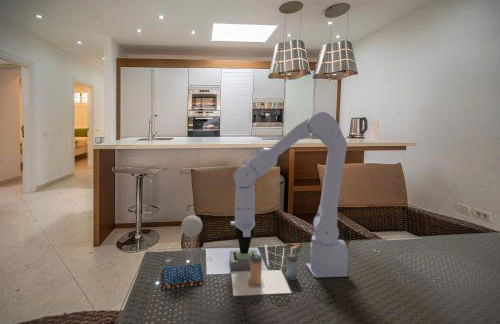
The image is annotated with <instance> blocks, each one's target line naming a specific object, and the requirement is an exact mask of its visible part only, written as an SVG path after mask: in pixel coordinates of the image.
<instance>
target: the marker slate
mask: <svg viewBox="0 0 500 324" xmlns="http://www.w3.org/2000/svg"><path fill="white" fill-rule="evenodd" d="M285 273H286V274H285V279H287V280H289V281H295V280H297V278H298V277H297V276H298V255H297V254H295V253H288V254H286V272H285Z"/></svg>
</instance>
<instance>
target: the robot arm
mask: <svg viewBox="0 0 500 324" xmlns="http://www.w3.org/2000/svg"><path fill="white" fill-rule="evenodd" d="M311 135H312V136H314V137H316V138H317V139H319V140H320V141H321V142H322V143H323V145H324V146H325V147H326V149H327V155H326V162H325V168H324V175H323V183H322V188H321V195H320V203H319V205H318V210H317V213H316V215H315V216H314V218H313V221H312V225H313V229H314V234H313V235H312V236H311V248H310V262H308V263H306V264H305V266H306V267H307V269H308V270H309V272H310V273H311V275H312V276H313V277H314V278H317V279H318V278H336V277H337V278H339V277H340V278H343V277H348V276H349V275H348V273H347V272H348V258H349V257H348V254H349V253H348V252H349V251H348V246H347V243H346V242H345V241H344V240H343V239H339V236H340V230H339V226H338V207H339V199H340V196H341V195H340V194H341V193H340V192H341V189H342V187H341V186H342V182H343V174H344V169H345V161H346V156H347V155H346V154H347V150H348V149H347V148H348V143H347V141H346V138H345V135H343V132H342V130H341V128H340V125H339V122H338V121H337V120H336V119H335V118H334V117H333V116H332V115H331V114H330V113H328V112H325V111H319V112H316V113H314V114H313V115H312V116H311V118H307V119H305V120H303V121H302V122H301V123H299V124H297V125H296V126H295V127H294V128H292V129H291V130H290V131H288V133H286V134H285V135H284V136H283V137H282V138H281V139H279V140H278V141H277V142H276V143H275V144H274V145H273V146H272V147H263V148H262V149H261V148H258V149H257V150H256V151H255V153H256V154H254V155H253V156H252V157H251V158H249V159H248V160H245V161H244V162H243V164H244V165H242V166H239V167H238V168H236V170H235V171H234V173H233V180H234V183H235V191H234V221H233V220H232V221H230V226H235V227H234V233H235V235H236V238H237V241H238V247H239V248H238V249H239V250H240V253H241V254H245V253H248V251H249V250H250V245H251V242H252V239H253V237H254V236H255V231H256V230H255V228H254V227H255V226H256V220H255V219H256V218H255V215H256V214H255V208H256V207H255V206H256V205H255V204H256V190H255V182H256V181H257V178H260V177H262V176H263V175H264V174H265V173H267V172H268V171H270V170H271V169H272V168H273V167H274V166H276V165H277V164H278V159H279V158H278V157H279V156H280V155H282V154H283V153H284V152H286V150H288V149H289V148H291V147H292V146H294V144H295V143H297V142H299V140H303V139H308V138H311V137H312V136H311Z"/></svg>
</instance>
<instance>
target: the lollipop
mask: <svg viewBox="0 0 500 324" xmlns="http://www.w3.org/2000/svg"><path fill="white" fill-rule="evenodd" d="M203 226H204V225H203V221H202V220H201V218H200V217H198V216H196V215H193V214H191V215H187V216H185V217H184V218H183V220H182V222H181V224H180V227H181V228H180V229H181V232H182V233H183V234H184V235H185V236H186V237H190V265H192V264H194V260H193V258H194V256H193V254H194V251H193V250H194V246H193V245H194V244H193V242H194V237H196V236H198V235H199V234H200V233H201V232H202V230H203Z"/></svg>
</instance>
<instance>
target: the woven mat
mask: <svg viewBox="0 0 500 324" xmlns="http://www.w3.org/2000/svg"><path fill="white" fill-rule="evenodd" d="M203 275H204V274H203V271H202V266H201V263H193V264H192V265H191V264H189V263H187V264H185V265H184V264H182V265H178V264H177V265H175V266H173V265H171V266H167V265H166V266H165V267H163V269H162V271H161V281H162V282H161V285H160V286H161V288H162V290H166V289H168V290H169V289H175V288H177V289H178V288H180V286H181V288H184V287H189V286H190V287H193V286H195V287H197V286H198V285H197V284H199V285H200V286H203V283H205V281H204V276H203Z"/></svg>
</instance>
